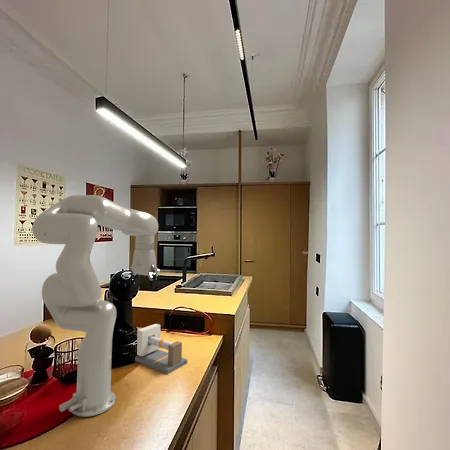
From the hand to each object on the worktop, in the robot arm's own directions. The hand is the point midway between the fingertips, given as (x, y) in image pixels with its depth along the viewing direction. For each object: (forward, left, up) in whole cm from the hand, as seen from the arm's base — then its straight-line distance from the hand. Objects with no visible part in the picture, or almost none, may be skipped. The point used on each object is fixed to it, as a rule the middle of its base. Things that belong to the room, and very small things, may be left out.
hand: (144, 287), depth 121 cm
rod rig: (+2, -7, -29) cm, 30 cm away
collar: (+2, -1, -27) cm, 27 cm away
